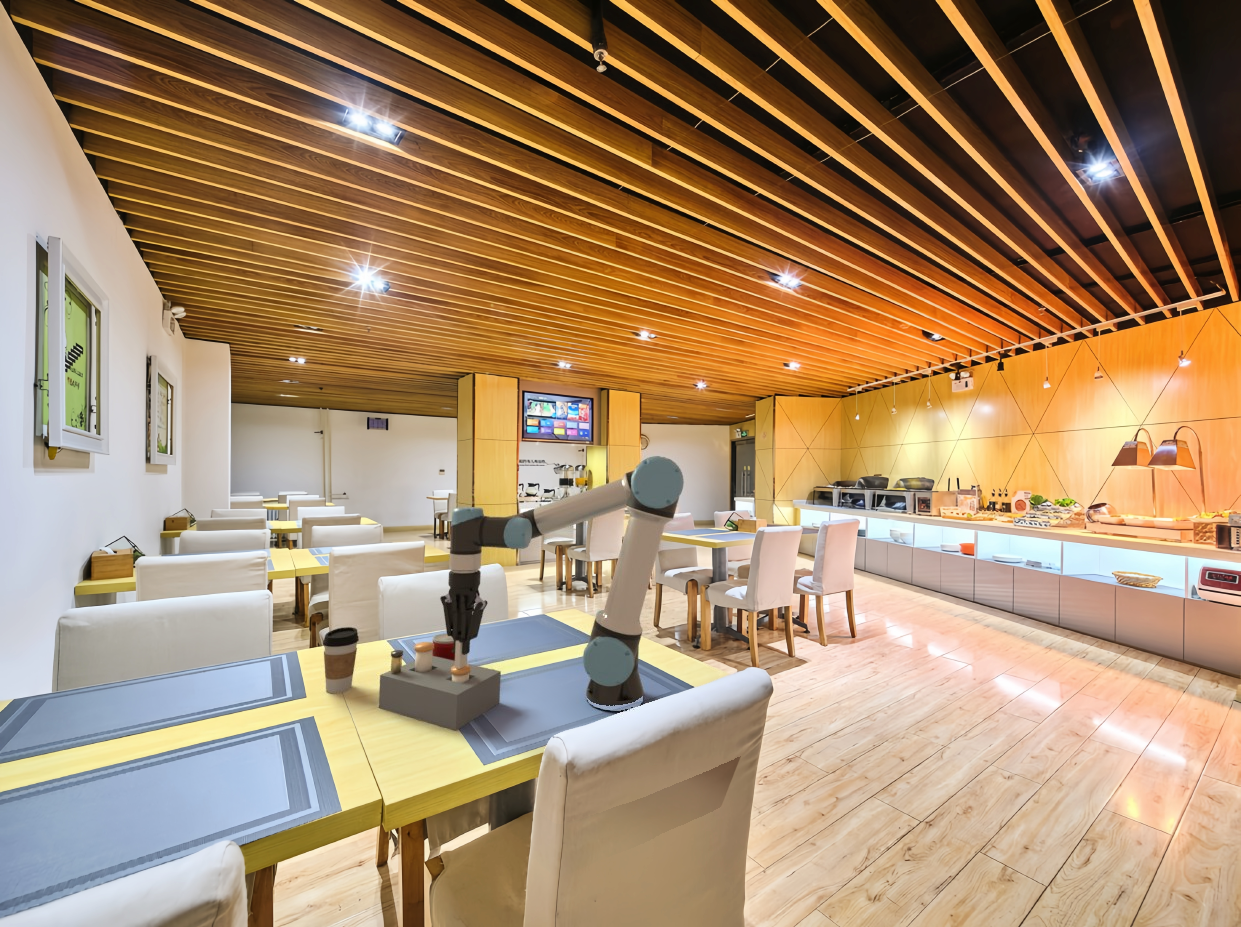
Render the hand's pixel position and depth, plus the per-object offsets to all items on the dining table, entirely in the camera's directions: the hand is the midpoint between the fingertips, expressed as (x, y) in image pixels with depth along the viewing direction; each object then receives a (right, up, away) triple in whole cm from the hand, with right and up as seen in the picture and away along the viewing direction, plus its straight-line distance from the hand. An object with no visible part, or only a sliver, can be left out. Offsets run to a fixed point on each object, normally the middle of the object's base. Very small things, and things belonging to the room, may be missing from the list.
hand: (460, 666), depth 126 cm
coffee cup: (-35, -10, +10) cm, 38 cm away
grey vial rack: (-6, -11, +2) cm, 12 cm away
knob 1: (-11, -4, +5) cm, 13 cm away
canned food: (-11, -11, +21) cm, 26 cm away
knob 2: (0, -8, 0) cm, 8 cm away
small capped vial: (-17, -2, +2) cm, 17 cm away
